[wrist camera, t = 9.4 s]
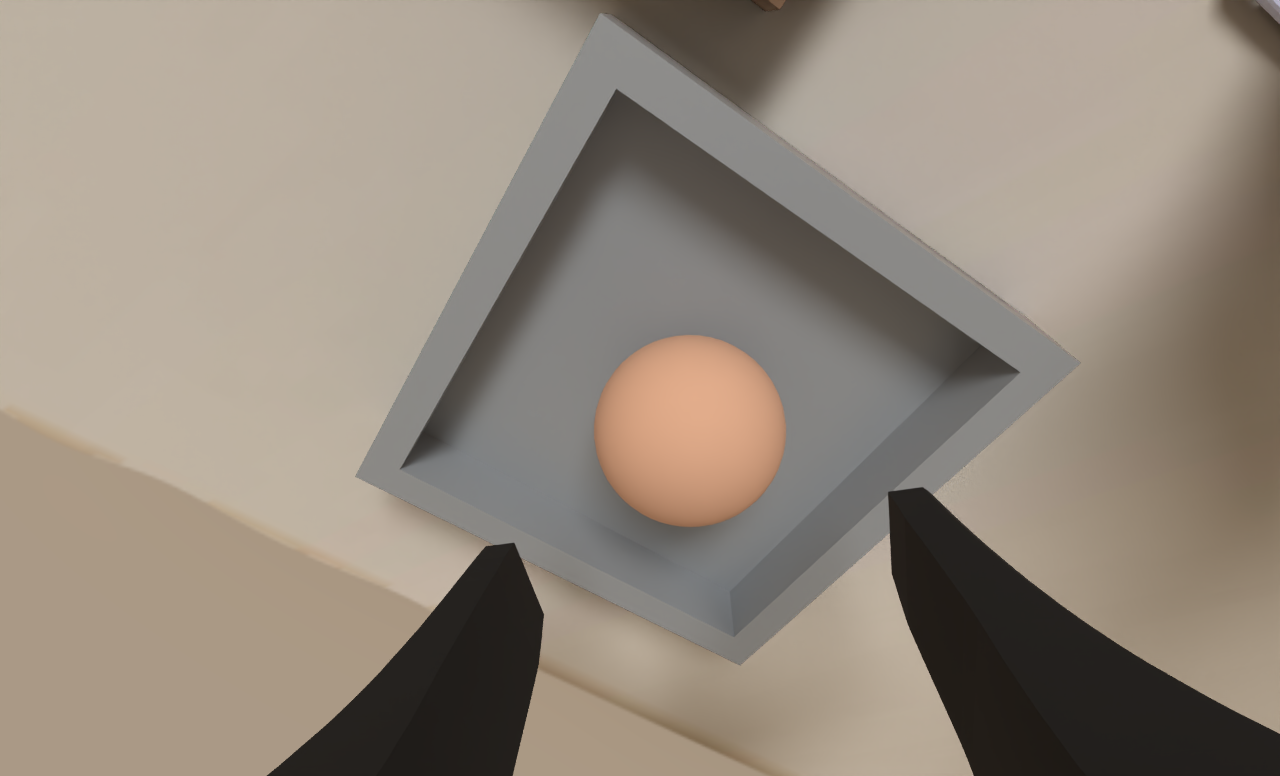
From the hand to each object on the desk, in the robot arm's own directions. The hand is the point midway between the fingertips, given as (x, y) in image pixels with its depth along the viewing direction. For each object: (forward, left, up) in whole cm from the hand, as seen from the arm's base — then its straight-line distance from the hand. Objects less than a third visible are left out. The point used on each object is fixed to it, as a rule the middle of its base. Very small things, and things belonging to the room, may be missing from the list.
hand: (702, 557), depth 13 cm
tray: (0, +1, -8) cm, 8 cm away
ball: (0, 0, -5) cm, 5 cm away
